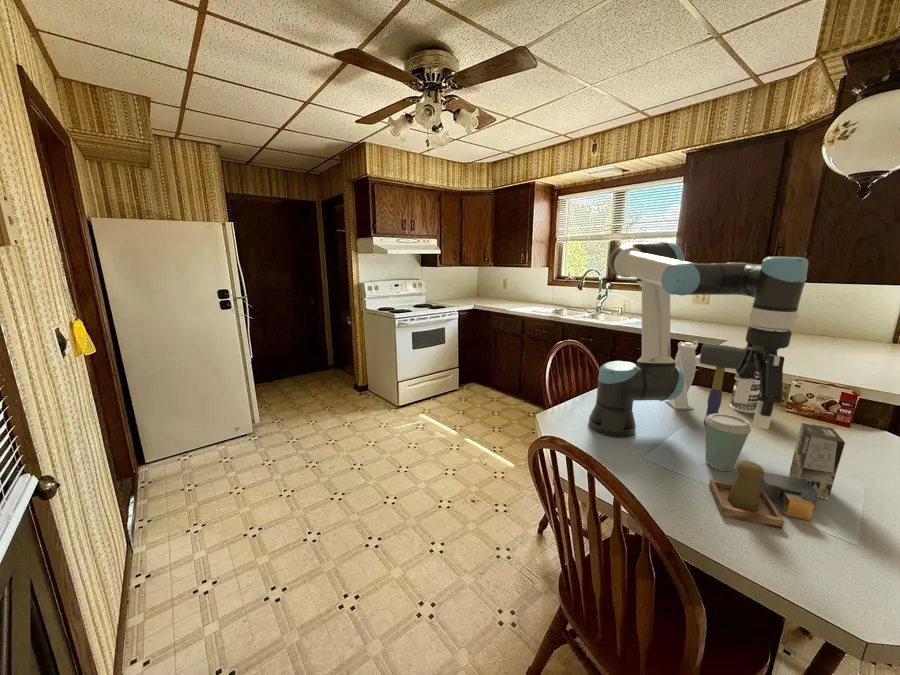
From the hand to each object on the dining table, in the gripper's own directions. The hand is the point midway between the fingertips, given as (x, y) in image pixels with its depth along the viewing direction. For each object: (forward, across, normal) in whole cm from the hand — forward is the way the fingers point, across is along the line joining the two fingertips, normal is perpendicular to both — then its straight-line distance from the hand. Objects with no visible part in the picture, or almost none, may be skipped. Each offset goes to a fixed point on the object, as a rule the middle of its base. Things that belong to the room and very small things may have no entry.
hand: (749, 414), depth 87 cm
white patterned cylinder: (+25, +66, -21) cm, 73 cm away
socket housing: (+23, +5, -12) cm, 27 cm away
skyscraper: (+25, +58, +2) cm, 63 cm away
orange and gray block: (+23, +3, -12) cm, 26 cm away
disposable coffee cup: (+24, +16, -2) cm, 29 cm away
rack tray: (+23, -3, -2) cm, 23 cm away
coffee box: (+24, +13, -20) cm, 34 cm away
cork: (+23, -3, -2) cm, 23 cm away
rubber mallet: (+24, +42, -5) cm, 49 cm away
